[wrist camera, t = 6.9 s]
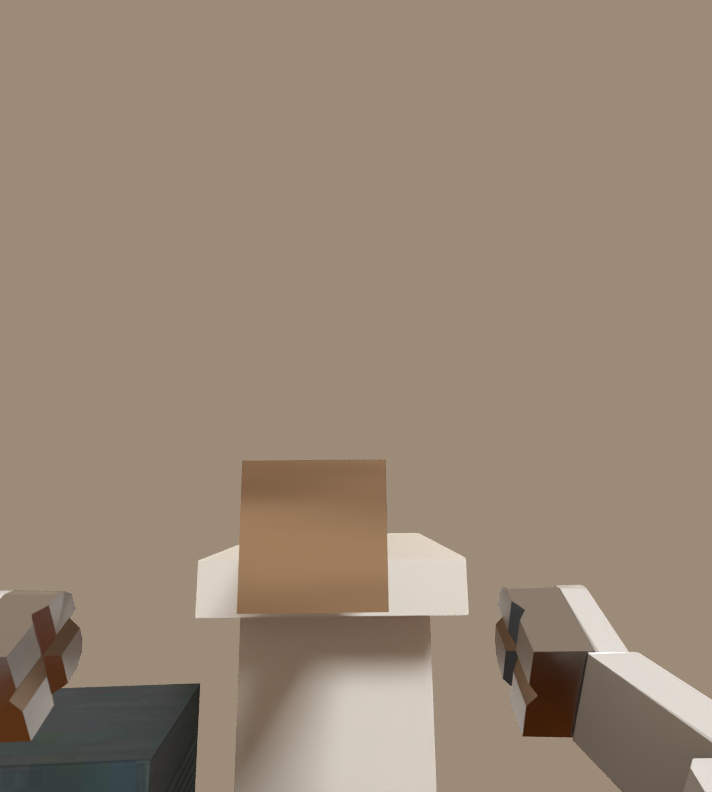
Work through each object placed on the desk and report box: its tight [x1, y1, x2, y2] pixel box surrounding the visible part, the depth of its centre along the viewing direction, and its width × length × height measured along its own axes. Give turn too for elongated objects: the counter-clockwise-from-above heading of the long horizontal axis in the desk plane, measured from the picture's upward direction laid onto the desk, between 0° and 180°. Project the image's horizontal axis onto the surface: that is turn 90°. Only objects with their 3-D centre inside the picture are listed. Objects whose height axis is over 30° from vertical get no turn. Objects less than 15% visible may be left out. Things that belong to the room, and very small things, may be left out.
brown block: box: [237, 460, 389, 614], centre depth 21 cm, size 22×3×3 cm, turn 0°
